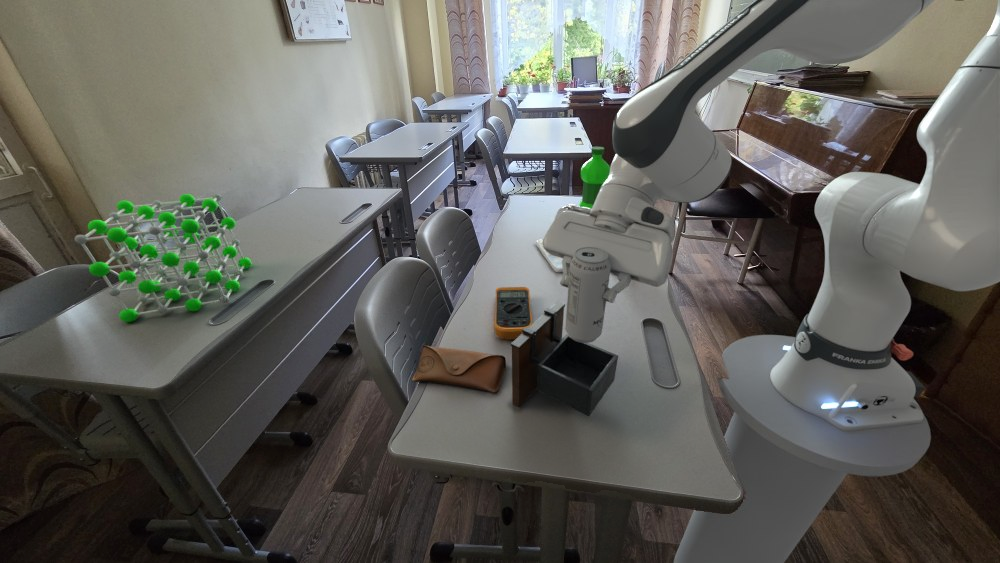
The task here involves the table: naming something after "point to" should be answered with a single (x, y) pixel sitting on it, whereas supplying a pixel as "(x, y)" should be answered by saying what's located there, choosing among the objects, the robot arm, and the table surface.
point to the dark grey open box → (573, 370)
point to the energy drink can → (587, 294)
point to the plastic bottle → (593, 177)
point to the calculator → (550, 257)
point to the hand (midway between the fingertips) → (585, 293)
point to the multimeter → (512, 312)
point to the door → (521, 354)
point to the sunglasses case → (460, 368)
